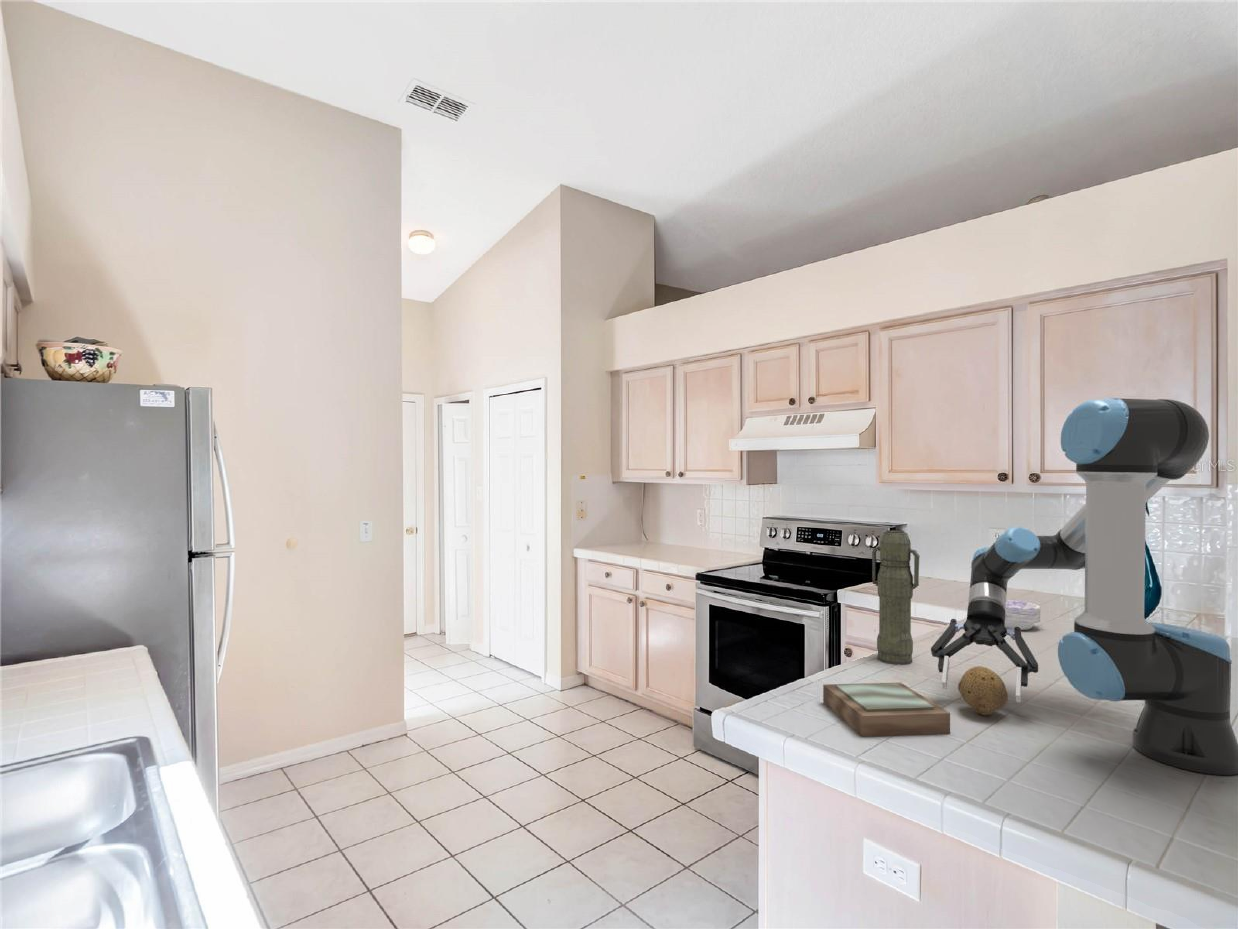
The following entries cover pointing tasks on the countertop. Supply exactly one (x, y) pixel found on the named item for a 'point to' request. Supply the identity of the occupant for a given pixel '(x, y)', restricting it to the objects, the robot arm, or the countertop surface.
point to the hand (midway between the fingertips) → (980, 692)
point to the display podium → (885, 709)
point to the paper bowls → (1021, 614)
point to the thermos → (895, 596)
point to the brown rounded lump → (983, 690)
